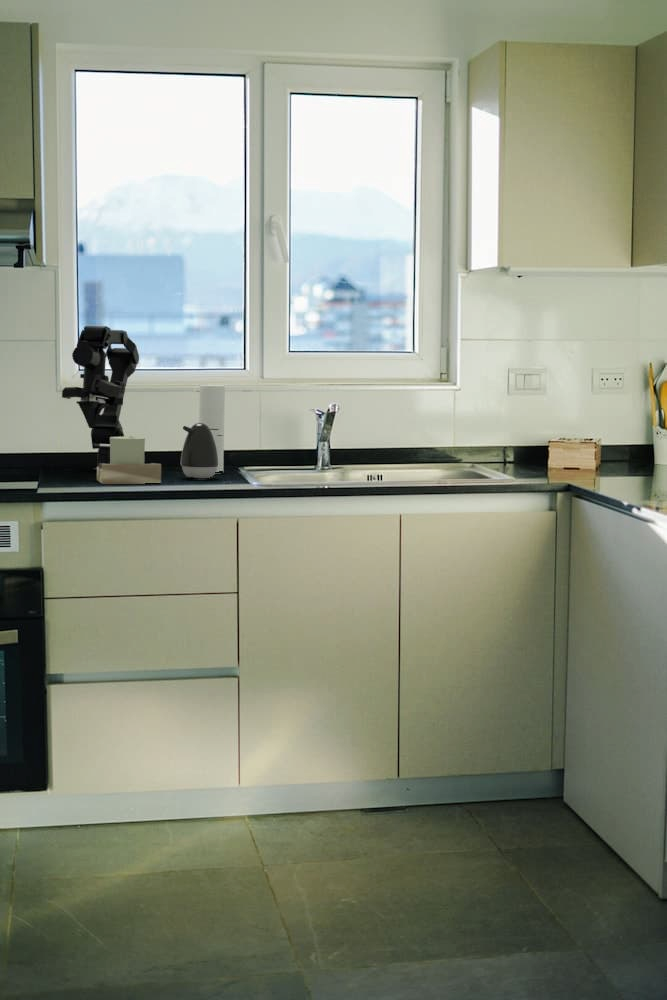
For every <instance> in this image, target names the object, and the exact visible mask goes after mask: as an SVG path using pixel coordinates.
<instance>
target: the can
mask: <svg viewBox="0 0 667 1000" xmlns="http://www.w3.org/2000/svg"><path fill="white" fill-rule="evenodd" d="M109 446H110V464H145V449H146V448H145V447H146V438H145V437H141V436H133V435H131V436H129V435H128V436H125V437H110V444H109Z"/></svg>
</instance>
